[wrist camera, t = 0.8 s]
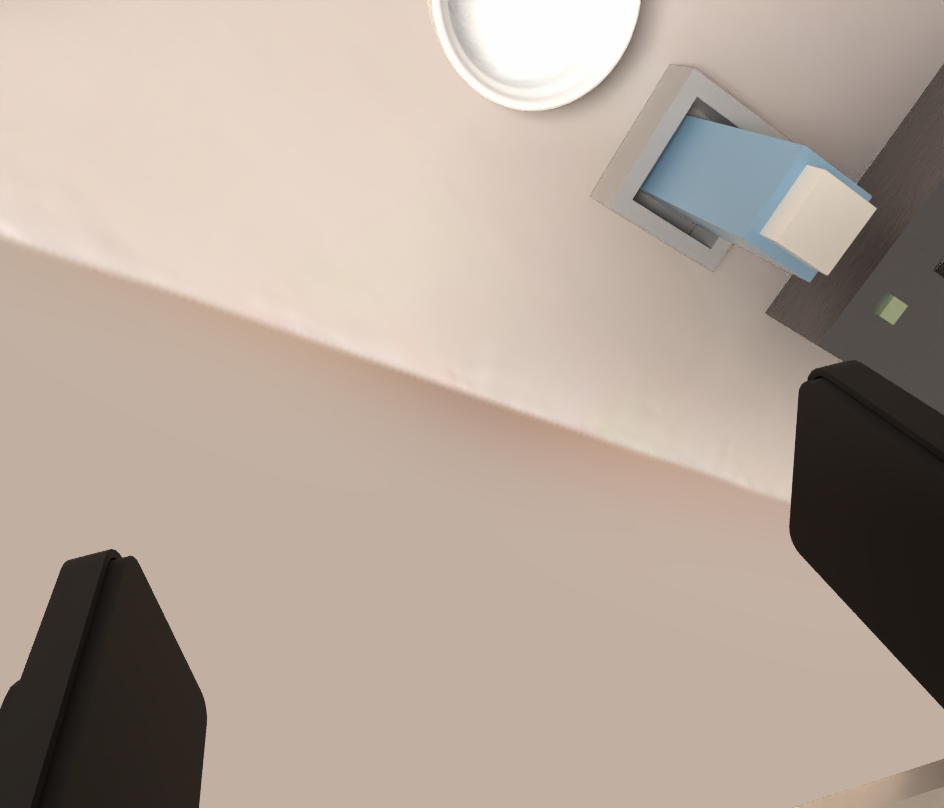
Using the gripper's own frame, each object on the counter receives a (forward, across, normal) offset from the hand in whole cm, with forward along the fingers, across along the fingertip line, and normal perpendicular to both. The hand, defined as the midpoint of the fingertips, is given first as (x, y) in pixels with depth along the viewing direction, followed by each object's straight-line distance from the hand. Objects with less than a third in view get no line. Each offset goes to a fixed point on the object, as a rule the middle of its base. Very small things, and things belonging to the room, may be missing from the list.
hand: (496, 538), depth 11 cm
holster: (+30, -17, +4) cm, 34 cm away
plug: (+30, -17, +4) cm, 34 cm away
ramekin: (+30, -9, -5) cm, 32 cm away
